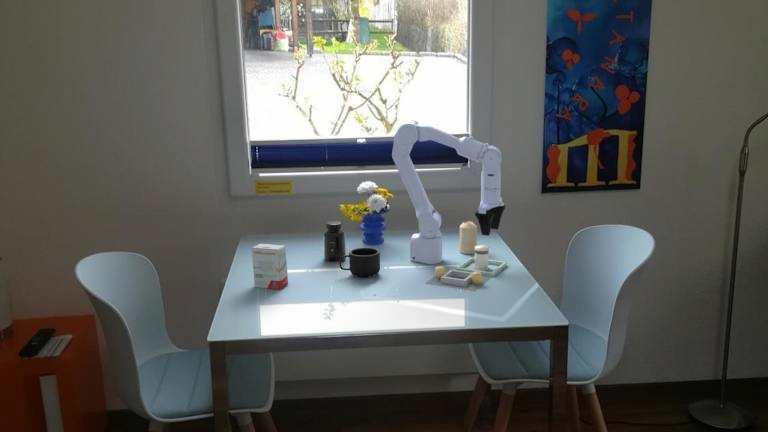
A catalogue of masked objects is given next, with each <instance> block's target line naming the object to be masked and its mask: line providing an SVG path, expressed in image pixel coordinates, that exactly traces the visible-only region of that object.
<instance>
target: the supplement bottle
mask: <svg viewBox="0 0 768 432" xmlns="http://www.w3.org/2000/svg"><path fill="white" fill-rule="evenodd" d="M325 229H326V230H325V231H324V232H323V235H322V237H323V258H324V261H326V262H329V263H340V259H341V257H342V256H344V255H347V251H346V245H347V244H346V232H345V231H344V230H343V226H342V222H341V221H339V220H330V221H326V223H325ZM346 258H347V257H345V258H343V260H342V262H344V261H345V260H346Z"/></svg>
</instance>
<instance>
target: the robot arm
mask: <svg viewBox="0 0 768 432" xmlns="http://www.w3.org/2000/svg"><path fill="white" fill-rule="evenodd" d="M396 130H397V131H396V132H395V134H394V136H393V139H394V140H393V145H392V152H391V157H392V160H393V162H394V164H395V167H396V169H397V171H398V174H399V175H400V178H401V180H402V183H403V184H404V187H405V190H406V191H407V193H408V196H409V199H410V200H411V203H412V205H413V208H414V210H415V214H416V215H415V216H416V220H417V222H418V231H419V232H418V233H413V234H412V235H411V239H410V243H409V245H410V246H409V252H410V254H409V257H410V258H409V260H410V262H417V263H422V264H427V265H435V264H440V263H441V262H443V233H442V232H441V230H440V228H441V225H442V222H443V219H442V216H441V214H440V213H439V211H436V209H435V208H434V205H433V204H432V203H431V201H430V200H429V198H428V194H427V192H426V191H425V188H424V186H423V184H422V181H421V179H420V176H419V174H418V172H417V170H416V167H415V165H414V164H413V161H412V158H411V156H410V155H411V151H412V149H413V146H414V144H416V142H417V141H418V140H419V142H421V143H422V142H425V141H433V142H436V143H439V144H441V145H444V146H447V147H450V148H452V149H455V151H456V153H457V155H458V156H462V157H464V158H466V159H467V160H468V159H469V160H472V161H474V162H476V163H481V164H482V170H481V176H480V179H481V180H480V182H481V183H480V202H479V206H478V210H476V211H475V212H474V216H475V217H476V219H477V221H478V224H479V227H480V228H479V229H480V233H481V235H482V236H486V237H487V236H490V235H491V234H490V233H491V230H499V227H500V222H501V220H502V219H501V218H502V216H503V214H504V211H505V210H506V205H505V202H503V197H501V191H502V189H501V186H502V185H501V184H502V179H501V178H502V172H501V169H502V168H501V167H502V166H501V163H502V159H503V158H502V153H501V152H502V151H501V150H500V149H499V148H498V147H496V146H495V145H490V143H488V142H485V143H483V142H481V141H478V140H476V139H474V136H471V135H469V136H463V137H460V138H459V137H458V136H455V135H453V134H450V133H447V132H445V131H443V130H441V129H439V128H436V127H434V126H433V125H429V124H426V123H424V122H418V121H416V120H414V119H409V120H406V121H405V122H403V124H401V125H399V127H398V129H396Z"/></svg>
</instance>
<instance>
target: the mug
mask: <svg viewBox="0 0 768 432" xmlns="http://www.w3.org/2000/svg"><path fill="white" fill-rule="evenodd" d="M345 257H346V258H349V261H348V262H349V263H348V264H349V268H348V267H347V268H346V267H343V266H342V263H343V261H342V260H343V258H345ZM338 264H339V268H340V270H341V271H350V273H351V275H353V276H355V277H357V278H361V277H362V278H363V279H367V278H373V277H374V276H377V275H378V274H379V273H380V270H381V251H380V250H379V249H378V248H373V247H357V248H354V249H351V250H350V251H349V253H348V254H346V255H344V256H342V257H341V259H340V262H339V263H338ZM362 278H361V279H362Z"/></svg>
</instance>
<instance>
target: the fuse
mask: <svg viewBox="0 0 768 432" xmlns="http://www.w3.org/2000/svg"><path fill="white" fill-rule="evenodd" d="M489 248H490V247H489V245H486V244H479V245H478V244H477V246H475V253H474V258H475V262H474V270H479V271H487V270H489V264H488V260H489V253H490V252H489V251H490V250H489Z"/></svg>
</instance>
